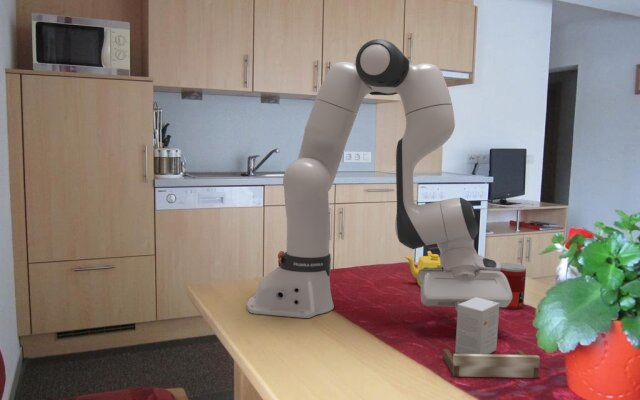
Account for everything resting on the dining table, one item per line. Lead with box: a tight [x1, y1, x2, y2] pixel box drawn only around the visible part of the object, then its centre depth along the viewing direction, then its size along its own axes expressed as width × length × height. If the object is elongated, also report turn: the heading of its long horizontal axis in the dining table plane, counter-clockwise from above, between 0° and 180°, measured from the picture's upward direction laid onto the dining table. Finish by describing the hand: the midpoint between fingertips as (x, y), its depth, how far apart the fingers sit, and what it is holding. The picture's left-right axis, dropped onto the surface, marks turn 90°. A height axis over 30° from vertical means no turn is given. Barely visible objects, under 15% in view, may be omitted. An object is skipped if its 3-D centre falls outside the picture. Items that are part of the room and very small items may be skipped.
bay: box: [442, 348, 541, 379], centre depth 101 cm, size 16×8×4 cm, turn 91°
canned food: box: [499, 262, 527, 310], centre depth 141 cm, size 8×8×11 cm
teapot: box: [403, 250, 441, 289], centre depth 160 cm, size 15×14×10 cm
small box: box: [454, 297, 500, 354], centre depth 108 cm, size 8×6×10 cm
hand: (471, 322), depth 114 cm, fingers closed
